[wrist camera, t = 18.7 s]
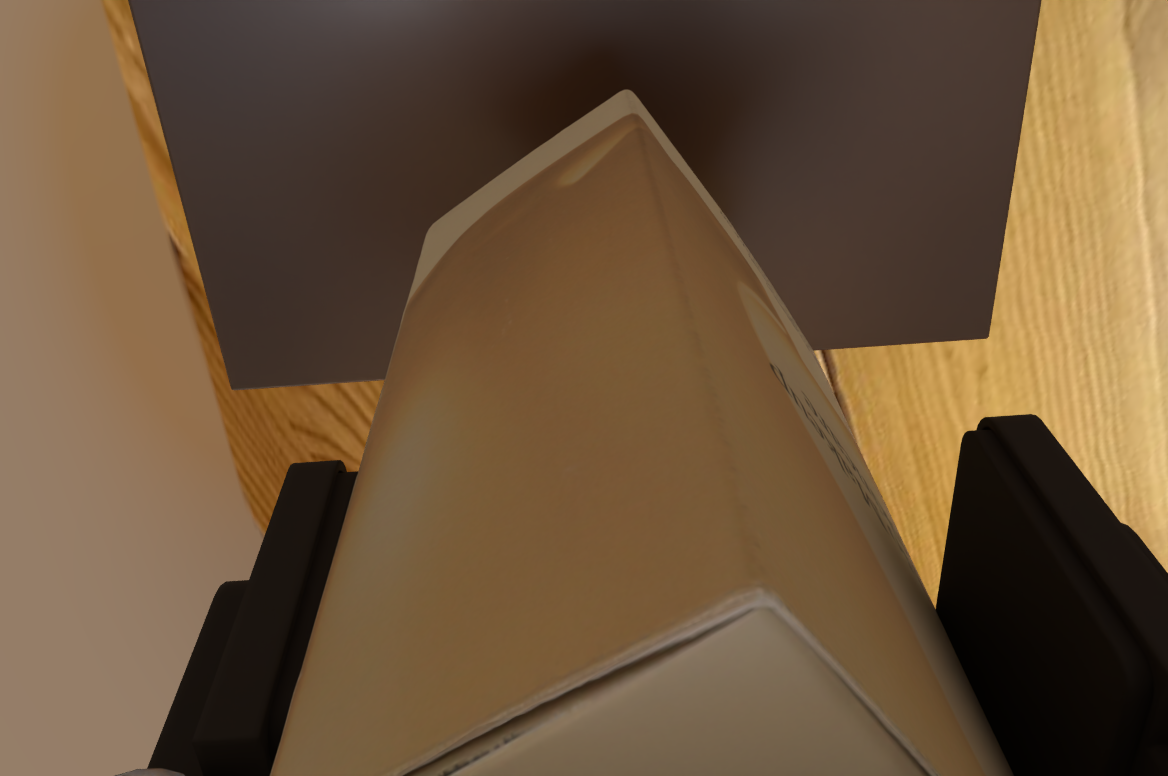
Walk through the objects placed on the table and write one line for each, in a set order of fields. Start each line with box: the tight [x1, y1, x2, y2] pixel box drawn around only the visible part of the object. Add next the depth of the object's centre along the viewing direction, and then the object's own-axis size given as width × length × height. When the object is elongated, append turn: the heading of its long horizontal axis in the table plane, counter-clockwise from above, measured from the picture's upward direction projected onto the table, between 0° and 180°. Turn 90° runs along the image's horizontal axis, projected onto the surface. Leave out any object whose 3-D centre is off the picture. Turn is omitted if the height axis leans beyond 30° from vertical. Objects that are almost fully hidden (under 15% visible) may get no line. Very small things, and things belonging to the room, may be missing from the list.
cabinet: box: [128, 0, 1041, 390], centre depth 27 cm, size 18×10×12 cm, turn 93°
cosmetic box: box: [270, 90, 1014, 776], centre depth 13 cm, size 6×4×12 cm
